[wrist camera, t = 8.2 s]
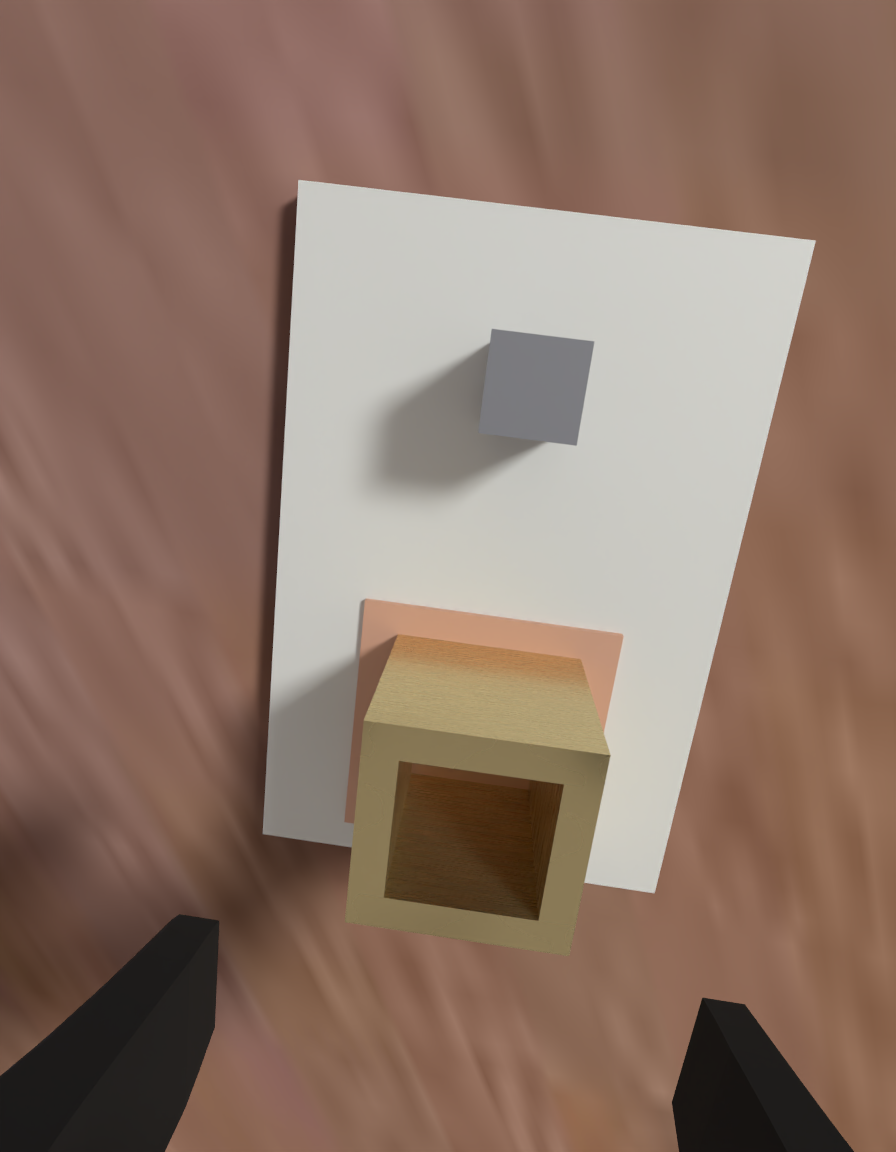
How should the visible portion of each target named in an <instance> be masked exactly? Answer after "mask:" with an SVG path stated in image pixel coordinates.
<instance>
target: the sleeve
mask: <svg viewBox="0 0 896 1152" xmlns="http://www.w3.org/2000/svg"><path fill="white" fill-rule="evenodd" d="M610 756H611V755H610V752H609V748H608V745H607V742H606V739H605V736H604V732H603V729H602V726H601V723H600V719H599V716H598V713H597V710H596V706H595V703H594V700H593V697H592V694H591V690H590V687H589V684H588V681H587V677H586V674H585V671H584V668H583V664H582V661H581V659H576V658H569V657H562V656H554V655H547V654H540V653H532V652H525V651H518V650H510V649H503V648H496V647H488V646H481V645H474V644H466V643H459V642H452V641H444V640H437V639H430V638H422V637H415V636H408V635H400V634H398V636H397V638H396V641H395V643H394V646H393V648H392V651H391V653H390V656H389V658H388V661H387V663H386V666H385V668H384V671H383V673H382V676H381V678H380V681H379V683H378V686H377V688H376V691H375V693H374V696H373V698H372V701H371V703H370V706H369V708H368V711H367V713H366V716H365V718H364V722H363V733H362V744H361V754H360V765H359V776H358V787H357V797H356V808H355V819H354V830H353V840H352V851H351V862H350V872H349V883H348V894H347V905H346V915H345V922H348V923H354V924H361V925H367V926H374V927H380V928H387V929H394V930H400V931H407V932H413V933H420V934H427V935H433V936H440V937H446V938H453V939H460V940H466V941H473V942H479V943H486V944H493V945H499V946H506V947H512V948H519V949H526V950H532V951H539V952H545V953H552V954H558V955H565V956H569V954H570V949H571V944H572V939H573V935H574V930H575V925H576V920H577V915H578V910H579V906H580V901H581V896H582V891H583V886H584V881H585V877H586V872H587V867H588V862H589V857H590V852H591V848H592V843H593V838H594V833H595V828H596V823H597V819H598V814H599V809H600V804H601V799H602V795H603V790H604V785H605V780H606V775H607V770H608V766H609V761H610ZM412 763H417V764H424V765H431V766H438V767H445V768H452V769H459V770H466V771H473V772H480V773H487V774H494V775H501V776H508V777H515V778H522V779H529V780H530V782H529V788H528V790H526V789H519V788H512V787H505V786H498V785H491V784H484V783H477V782H470V781H463V780H456V779H449V778H442V777H435V776H428V775H421V774H414V773H411V772H412Z"/></svg>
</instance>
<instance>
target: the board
mask: <svg viewBox="0 0 896 1152" xmlns="http://www.w3.org/2000/svg"><path fill="white" fill-rule="evenodd" d="M814 245H815V241H814V240H805V239H797V238H788V237H780V236H771V235H763V234H754V233H746V232H737V231H729V230H720V229H712V228H703V227H695V226H686V225H678V224H669V223H661V222H652V221H644V220H635V219H627V218H618V217H610V216H601V215H593V214H584V213H576V212H567V211H559V210H550V209H542V208H533V207H525V206H516V205H508V204H499V203H491V202H482V201H474V200H465V199H457V198H448V197H440V196H431V195H423V194H414V193H406V192H397V191H389V190H380V189H372V188H363V187H355V186H346V185H338V184H329V183H321V182H312V181H304V180H299V182H298V200H297V218H296V236H295V255H294V273H293V291H292V309H291V328H290V346H289V364H288V382H287V401H286V419H285V437H284V455H283V473H282V492H281V510H280V528H279V546H278V565H277V583H276V601H275V619H274V638H273V656H272V674H271V692H270V711H269V729H268V747H267V765H266V783H265V802H264V820H263V834H266V835H273V836H279V837H286V838H293V839H299V840H306V841H312V842H319V843H326V844H332V845H339V846H345V847H352V840H353V830H354V819H355V808H356V797H357V787H358V776H359V765H360V754H361V744H362V733H363V722H364V718H365V716H366V713H367V711H368V708H369V706H370V703H371V701H372V698H373V696H374V693H375V691H376V688H377V686H378V683H379V681H380V678H381V676H382V673H383V671H384V668H385V666H386V663H387V661H388V658H389V656H390V653H391V651H392V648H393V646H394V643H395V641H396V638H397V636H398V634H400V635H408V636H415V637H422V638H430V639H437V640H444V641H452V642H459V643H466V644H474V645H481V646H488V647H496V648H503V649H510V650H518V651H525V652H532V653H540V654H547V655H554V656H562V657H569V658H576V659H581V661H582V664H583V668H584V671H585V674H586V677H587V681H588V684H589V687H590V690H591V694H592V697H593V700H594V703H595V706H596V710H597V713H598V716H599V719H600V723H601V726H602V729H603V732H604V736H605V739H606V742H607V745H608V748H609V752H610V755H611V756H610V761H609V766H608V770H607V775H606V780H605V785H604V790H603V795H602V799H601V804H600V809H599V814H598V819H597V823H596V828H595V833H594V838H593V843H592V848H591V852H590V857H589V862H588V867H587V872H586V877H585V881H584V883H590V884H597V885H604V886H610V887H617V888H623V889H630V890H637V891H643V892H650V893H655V889H656V885H657V881H658V877H659V873H660V869H661V865H662V861H663V857H664V853H665V849H666V845H667V841H668V837H669V833H670V828H671V824H672V820H673V816H674V812H675V808H676V804H677V800H678V796H679V792H680V788H681V784H682V780H683V776H684V772H685V768H686V764H687V760H688V756H689V752H690V747H691V743H692V739H693V735H694V731H695V727H696V723H697V719H698V715H699V711H700V707H701V703H702V699H703V695H704V691H705V687H706V683H707V679H708V675H709V671H710V667H711V662H712V658H713V654H714V650H715V646H716V642H717V638H718V634H719V630H720V626H721V622H722V618H723V614H724V610H725V606H726V602H727V598H728V594H729V590H730V586H731V581H732V577H733V573H734V569H735V565H736V561H737V557H738V553H739V549H740V545H741V541H742V537H743V533H744V529H745V525H746V521H747V517H748V513H749V509H750V505H751V501H752V496H753V492H754V488H755V484H756V480H757V476H758V472H759V468H760V464H761V460H762V456H763V452H764V448H765V444H766V440H767V436H768V432H769V428H770V424H771V420H772V416H773V411H774V407H775V403H776V399H777V395H778V391H779V387H780V383H781V379H782V375H783V371H784V367H785V363H786V359H787V355H788V351H789V347H790V343H791V339H792V335H793V330H794V326H795V322H796V318H797V314H798V310H799V306H800V302H801V298H802V294H803V290H804V286H805V282H806V278H807V274H808V270H809V266H810V262H811V258H812V254H813V250H814ZM411 773H414V774H421V775H428V776H435V777H442V778H449V779H456V780H463V781H470V782H477V783H484V784H491V785H498V786H505V787H512V788H519V789H526V790H528V788H529V782H530V780H529V779H522V778H515V777H508V776H501V775H494V774H487V773H480V772H473V771H466V770H459V769H452V768H445V767H438V766H431V765H424V764H417V763H412V772H411Z"/></svg>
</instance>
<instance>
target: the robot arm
mask: <svg viewBox="0 0 896 1152" xmlns="http://www.w3.org/2000/svg"><path fill="white" fill-rule="evenodd" d="M218 936H219V921H218V920H211V919H205V918H199V917H192V916H186V915H180V914H179V915H178V916H176V917H175V918H173V919H172V920H171V921H170V922H169V923H168V924H167V925H166V926H165V927H164V928H163V929H162V930H161V931H160V932H159V933H158V934H157V935H156V936H155V937H154V938H153V939H152V940H151V941H150V942H149V943H148V944H146V945H145V946H144V947H143V948H142V949H141V950H140V951H139V952H138V953H137V954H136V955H135V956H134V957H133V958H132V959H131V960H130V961H129V962H128V963H127V964H126V965H125V966H124V967H123V968H122V969H121V970H119V971H118V972H117V973H116V974H115V975H114V976H113V977H112V978H111V979H110V980H109V981H108V982H107V983H106V984H105V985H104V986H102V987H101V988H100V989H99V990H98V991H97V992H96V993H95V994H94V995H93V996H92V997H91V998H89V999H88V1000H87V1001H86V1002H85V1003H84V1004H83V1005H82V1006H81V1007H79V1008H78V1009H77V1010H76V1011H75V1012H74V1013H73V1014H72V1015H71V1016H69V1017H68V1018H67V1019H66V1020H65V1021H64V1022H63V1023H62V1024H61V1025H59V1026H58V1027H57V1028H56V1029H55V1030H54V1031H53V1032H52V1033H51V1034H49V1035H48V1036H47V1037H46V1038H45V1039H44V1040H43V1041H41V1042H40V1043H39V1044H38V1045H37V1046H36V1047H35V1048H33V1049H32V1050H31V1051H30V1052H29V1053H27V1054H26V1055H25V1056H24V1057H23V1058H21V1059H20V1060H19V1061H18V1062H17V1063H15V1064H14V1065H13V1066H12V1067H11V1068H9V1069H8V1070H7V1071H6V1072H5V1073H3V1074H2V1075H1V1076H0V1152H165V1150H166V1148H167V1146H168V1144H169V1141H170V1139H171V1137H172V1135H173V1133H174V1131H175V1129H176V1127H177V1124H178V1122H179V1120H180V1118H181V1116H182V1114H183V1111H184V1109H185V1107H186V1104H187V1102H188V1099H189V1096H190V1094H191V1091H192V1088H193V1086H194V1083H195V1080H196V1078H197V1075H198V1072H199V1070H200V1067H201V1064H202V1061H203V1059H204V1056H205V1053H206V1050H207V1047H208V1045H209V1042H210V1039H211V1036H212V1033H213V1031H214V1028H215V1008H216V984H217V960H218ZM672 1106H673V1113H674V1120H675V1126H676V1133H677V1140H678V1147H679V1152H854V1151H853V1150H852V1148H851V1147H850V1146H849V1145H848V1143H847V1142H846V1141H845V1139H844V1138H843V1137H842V1136H841V1134H840V1133H839V1132H838V1130H837V1129H836V1128H835V1126H834V1125H833V1124H832V1122H831V1121H830V1120H829V1118H828V1117H827V1116H826V1114H825V1113H824V1112H823V1110H822V1109H821V1108H820V1106H819V1105H818V1104H817V1102H816V1101H815V1099H814V1098H813V1097H812V1095H811V1094H810V1093H809V1091H808V1090H807V1089H806V1087H805V1086H804V1085H803V1083H802V1082H801V1081H800V1079H799V1078H798V1076H797V1075H796V1074H795V1072H794V1071H793V1070H792V1068H791V1067H790V1066H789V1064H788V1063H787V1061H786V1060H785V1059H784V1057H783V1056H782V1055H781V1053H780V1052H779V1051H778V1049H777V1048H776V1046H775V1045H774V1044H773V1042H772V1041H771V1040H770V1038H769V1037H768V1035H767V1034H766V1033H765V1031H764V1030H763V1029H762V1027H761V1026H760V1025H759V1023H758V1022H757V1020H756V1019H755V1018H754V1016H753V1015H752V1014H751V1012H750V1011H749V1010H748V1008H747V1007H746V1006H745V1004H739V1003H733V1002H726V1001H720V1000H714V999H708V998H702V1001H701V1005H700V1008H699V1011H698V1015H697V1018H696V1022H695V1025H694V1029H693V1032H692V1035H691V1039H690V1042H689V1046H688V1049H687V1052H686V1056H685V1059H684V1063H683V1066H682V1070H681V1073H680V1076H679V1080H678V1083H677V1087H676V1090H675V1094H674V1097H673V1100H672Z"/></svg>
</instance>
